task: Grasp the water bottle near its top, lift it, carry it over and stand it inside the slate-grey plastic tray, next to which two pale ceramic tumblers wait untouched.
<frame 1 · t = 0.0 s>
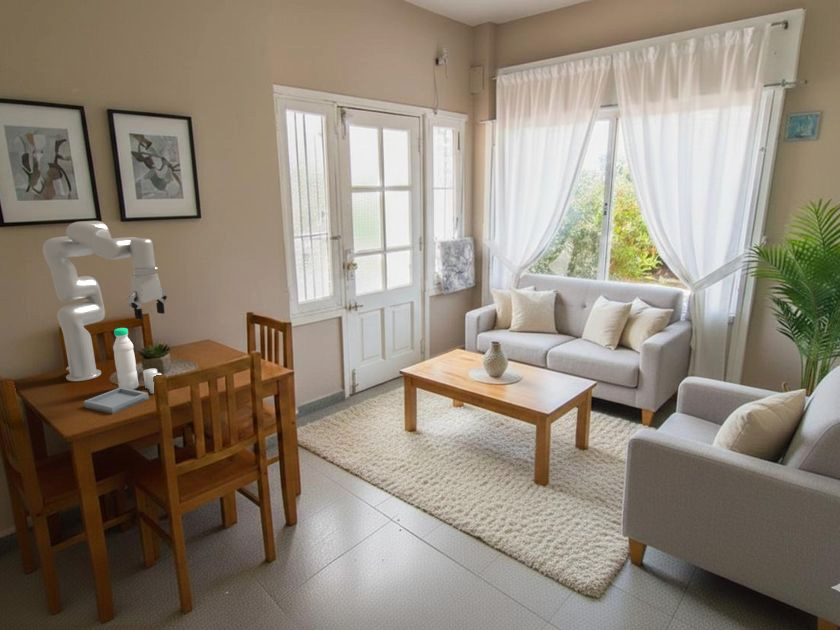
hand: (150, 315, 196), 31 cm above the table, fingers open, 9 cm apart
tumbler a: (156, 391, 204), on the table
tray: (117, 402, 193), on the table
water bottle: (129, 388, 207), on the table
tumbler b: (152, 386, 209), on the table
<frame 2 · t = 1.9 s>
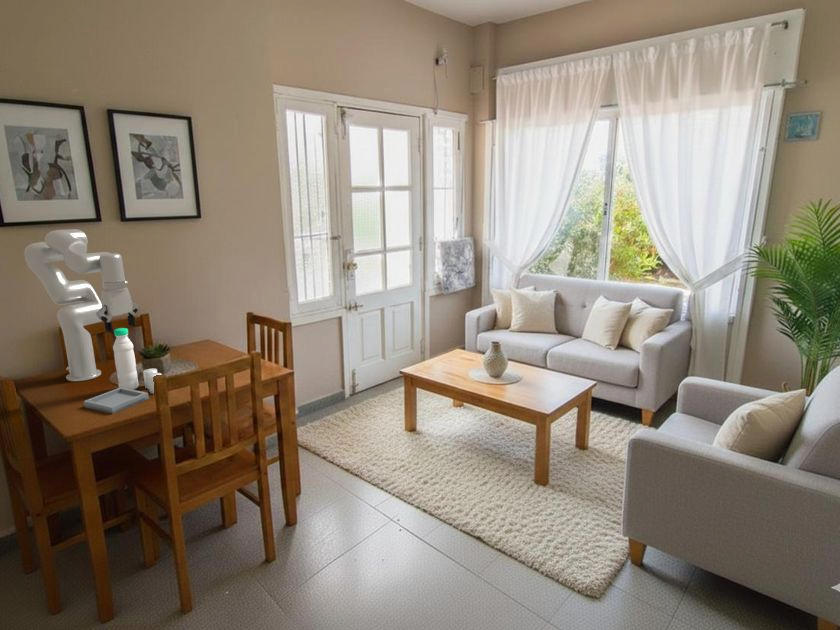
hand: (121, 328, 201), 25 cm above the table, fingers open, 9 cm apart
nothing on the table moved.
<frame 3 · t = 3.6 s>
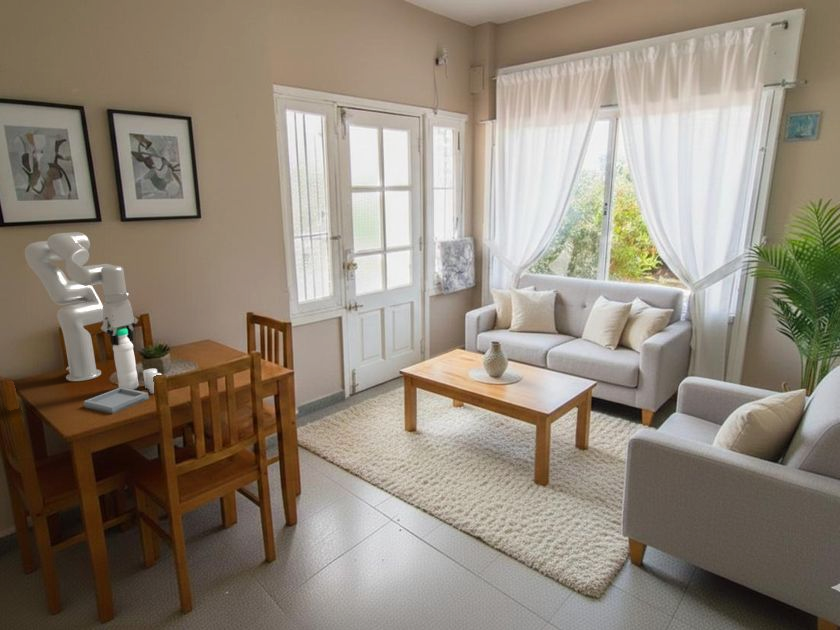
hand: (122, 342, 202), 20 cm above the table, fingers closed on water bottle, 5 cm apart
water bottle: (129, 388, 207), on the table, touching gripper
everything else where it was.
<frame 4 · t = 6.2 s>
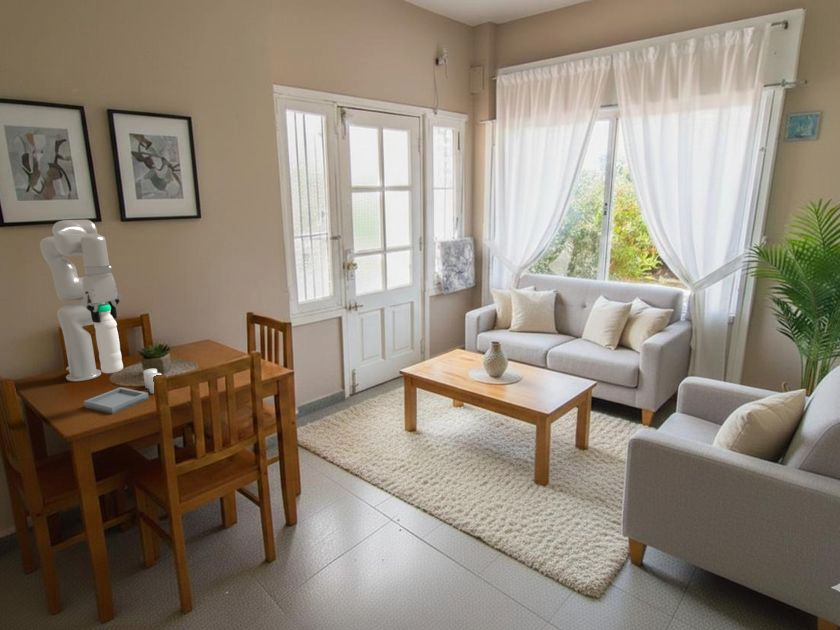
hand: (105, 319, 185), 32 cm above the table, fingers closed on water bottle, 5 cm apart
water bottle: (112, 370, 190), point 13 cm above the table, touching gripper
everything else where it was.
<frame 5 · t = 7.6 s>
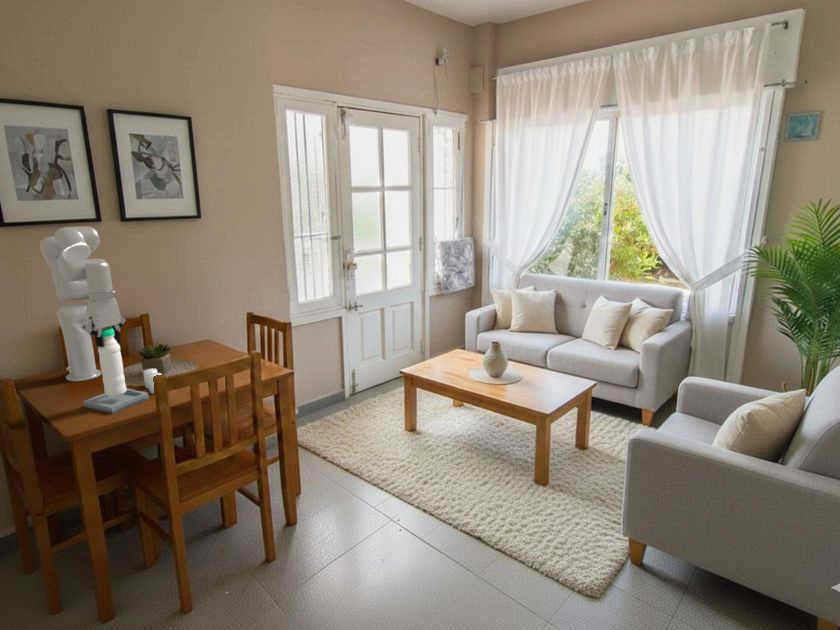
hand: (108, 343, 187), 23 cm above the table, fingers closed on water bottle, 5 cm apart
water bottle: (116, 393, 192), point 4 cm above the table, touching gripper
everything else where it was.
when the fingers open (21 cm above the table, at t = 8.9 s): water bottle stays where it is, resting on tray.
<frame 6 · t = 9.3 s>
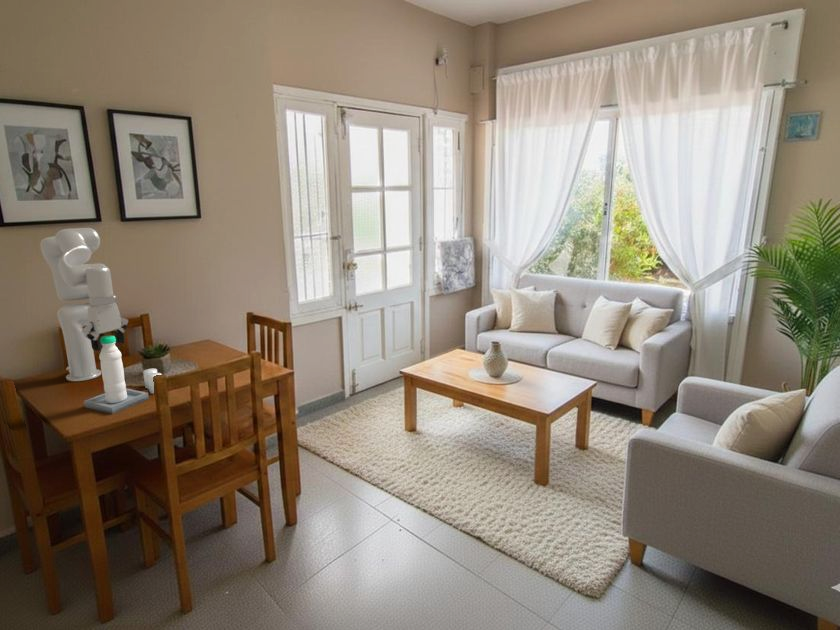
hand: (109, 346, 188), 22 cm above the table, fingers open, 9 cm apart
water bottle: (117, 400, 193), point 1 cm above the table, touching tray
everything else where it was.
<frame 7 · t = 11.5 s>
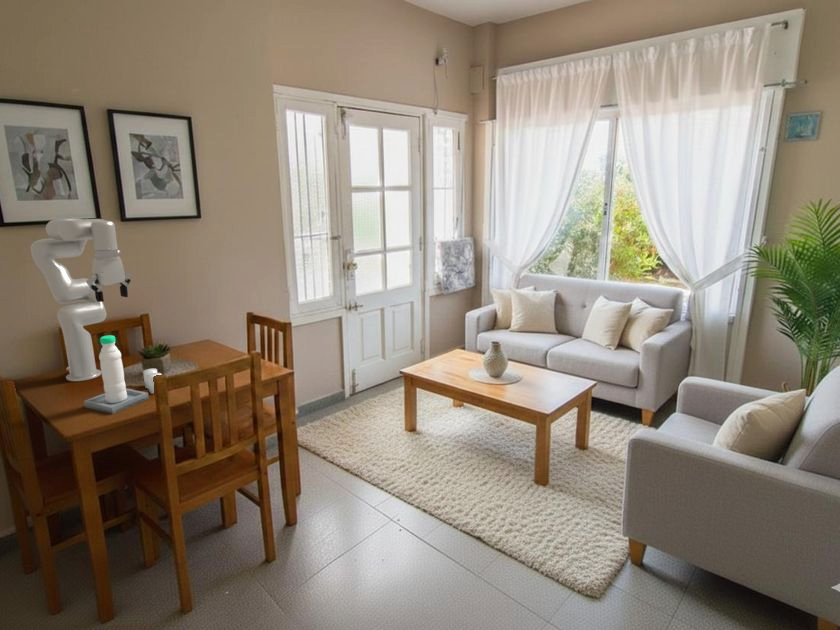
hand: (112, 299, 195), 38 cm above the table, fingers open, 9 cm apart
nothing on the table moved.
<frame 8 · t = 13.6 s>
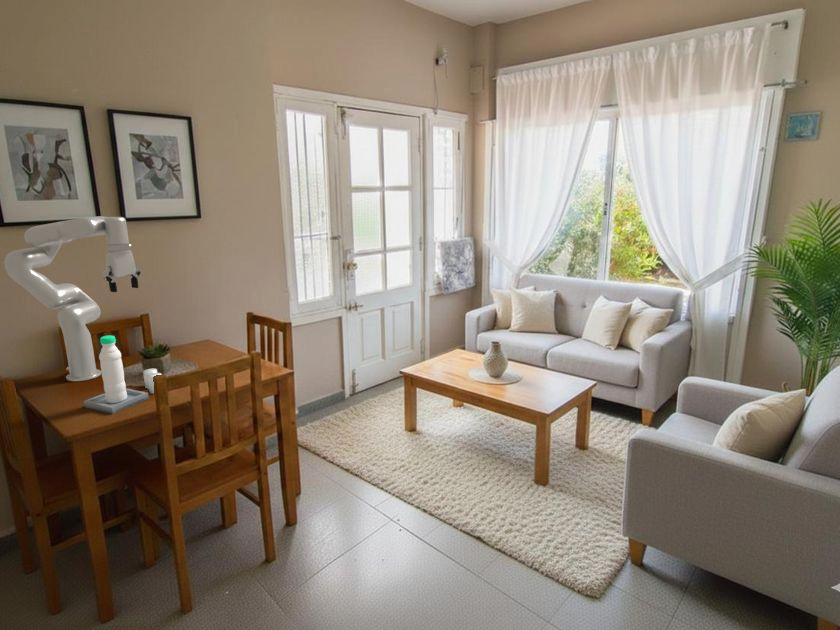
hand: (124, 289, 210), 38 cm above the table, fingers open, 9 cm apart
nothing on the table moved.
at the end: water bottle inside the target area on the tray (0.2 cm from its centre), point 0.8 cm above the tray's base; water bottle tilted 0°; the gripper is holding nothing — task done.
